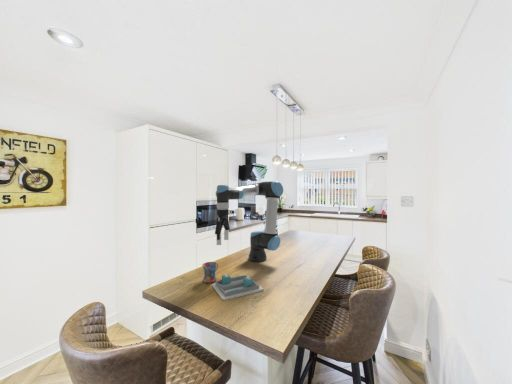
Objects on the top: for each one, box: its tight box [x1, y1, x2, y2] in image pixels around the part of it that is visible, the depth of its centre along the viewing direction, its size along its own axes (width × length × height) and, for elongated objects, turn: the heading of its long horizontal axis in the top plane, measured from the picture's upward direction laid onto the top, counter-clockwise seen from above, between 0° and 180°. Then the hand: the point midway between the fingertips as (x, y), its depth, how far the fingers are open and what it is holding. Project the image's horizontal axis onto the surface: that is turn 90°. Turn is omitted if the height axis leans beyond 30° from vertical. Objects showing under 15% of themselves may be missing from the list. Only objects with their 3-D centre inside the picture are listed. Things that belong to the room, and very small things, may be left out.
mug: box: [201, 261, 219, 284], centre depth 136 cm, size 12×9×11 cm
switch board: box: [211, 274, 264, 302], centre depth 125 cm, size 24×20×3 cm
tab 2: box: [243, 275, 254, 287], centre depth 124 cm, size 4×4×6 cm
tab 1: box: [221, 273, 232, 285], centre depth 127 cm, size 4×4×6 cm
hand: (222, 242), depth 137 cm, fingers open, 13 cm apart
